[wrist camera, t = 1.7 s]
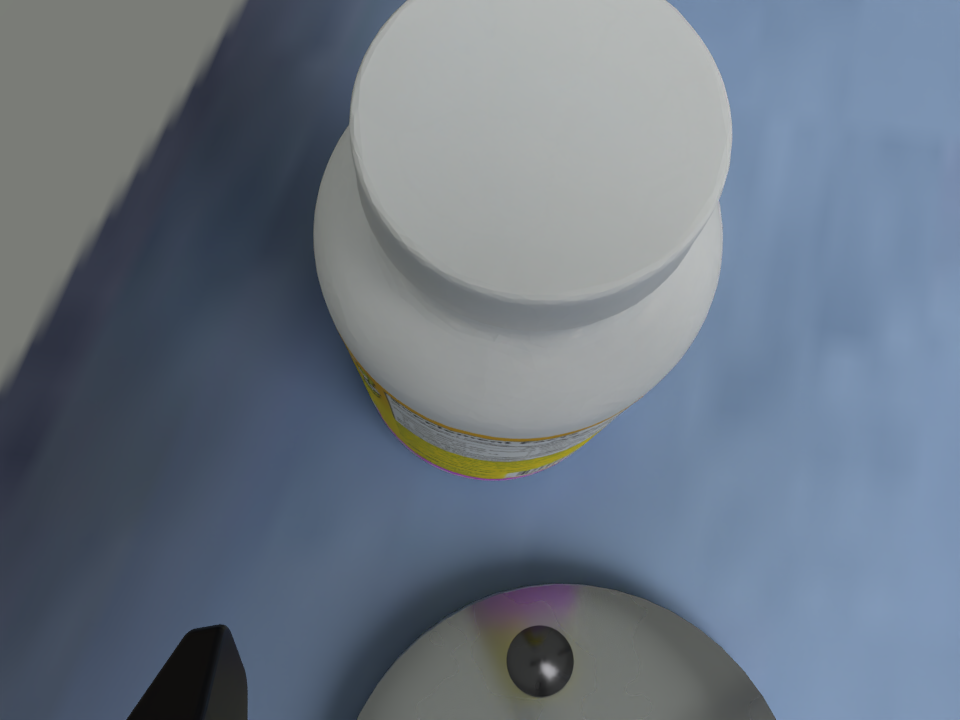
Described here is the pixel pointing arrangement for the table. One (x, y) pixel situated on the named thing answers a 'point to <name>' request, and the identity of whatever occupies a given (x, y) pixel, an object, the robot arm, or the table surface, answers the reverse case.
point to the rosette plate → (564, 663)
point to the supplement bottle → (523, 221)
